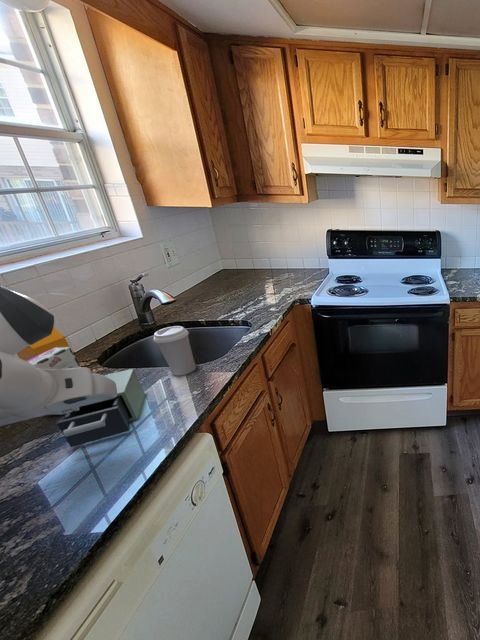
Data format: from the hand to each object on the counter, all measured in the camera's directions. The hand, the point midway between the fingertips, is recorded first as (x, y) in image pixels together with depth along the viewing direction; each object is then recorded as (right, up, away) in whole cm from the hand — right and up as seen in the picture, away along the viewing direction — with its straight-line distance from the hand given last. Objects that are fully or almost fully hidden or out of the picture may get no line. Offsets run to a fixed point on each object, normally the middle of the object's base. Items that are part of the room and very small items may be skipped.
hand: (70, 409), depth 82 cm
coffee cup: (-5, +5, +42) cm, 43 cm away
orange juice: (-43, +2, +38) cm, 57 cm away
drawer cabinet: (-10, -5, +21) cm, 24 cm away
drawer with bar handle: (-5, -8, +13) cm, 16 cm away
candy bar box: (-26, -4, +26) cm, 37 cm away
